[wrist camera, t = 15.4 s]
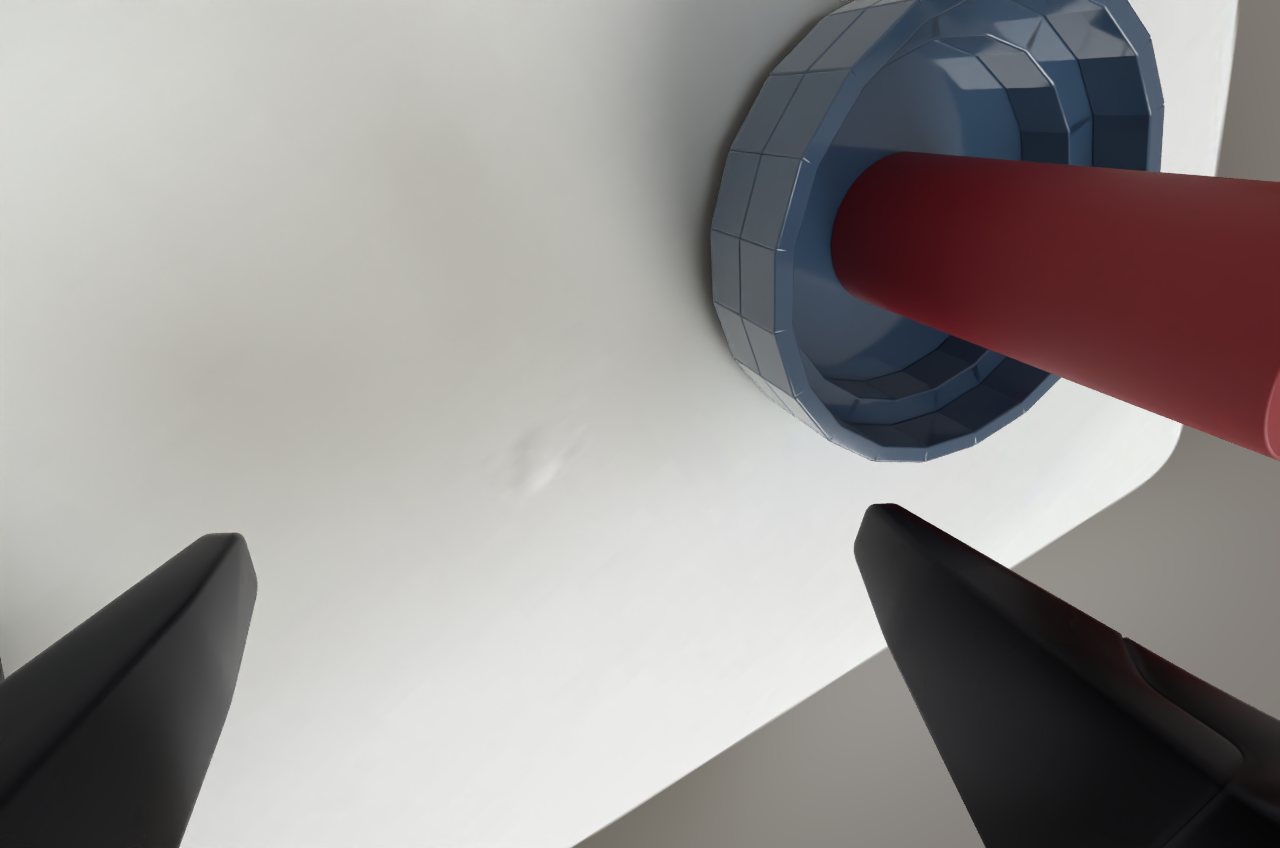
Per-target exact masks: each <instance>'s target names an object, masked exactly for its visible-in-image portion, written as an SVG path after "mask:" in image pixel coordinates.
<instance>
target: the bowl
mask: <svg viewBox="0 0 1280 848" xmlns="http://www.w3.org/2000/svg"><path fill="white" fill-rule="evenodd" d="M769 75H770V76H769V77H768V78H767V79H766V81H765V83H764V85H763V87H762V89H761V91H760V92H759V94H758V96H757V98H756V100H755V102H754V104H753V106H752V108H751V109H750V111H749V113H748V115H747V117H746V119H745V121H744V123H743V124H742V126H741V128H740V130H739V132H738V134H737V136H736V138H735V139H734V141H733V143H732V145H731V147H730V150H731V151H729V153H728V156H727V161H726V165H725V169H724V173H723V177H722V182H721V186H720V190H719V194H718V198H717V203H716V207H715V211H714V215H713V219H712V224H711V228H712V229H711V231H710V235H711V263H712V291H713V303H714V306H715V309H716V311H717V314H718V317H719V320H720V323H721V325H722V328H723V331H724V334H725V336H726V339H727V342H728V345H729V348H730V350H731V353H732V356H733V357H734V359H735V361H736V362H737V363H738V364H739V365H740V366H741V367H742V369H743V370H744V371H745V372H746V373H747V374H748V376H749V377H750V378H751V379H752V380H753V381H754V383H755V384H756V385H757V386H758V387H759V388H760V390H761V391H762V392H763V393H764V394H765V395H766V396H767V397H768V398H769V399H771V400H772V401H774V402H775V403H776V404H778V405H779V406H781V407H782V408H783V409H785V410H786V411H788V412H789V413H791V414H792V415H793V416H795V417H796V418H798V419H799V420H800V421H802V422H803V423H805V424H806V425H807V426H809V427H810V428H812V429H813V430H814V431H816V432H817V433H819V434H820V435H822V436H823V437H824V438H826V439H827V440H829V441H830V442H832V443H835V444H837V445H839V446H841V447H843V448H845V449H847V450H850V451H852V452H854V453H856V454H858V455H860V456H862V457H865V458H867V459H869V460H871V461H878V462H926V461H929V460H932V459H935V458H938V457H942V456H945V455H948V454H951V453H954V452H957V451H960V450H963V449H966V448H969V447H972V446H974V445H976V444H978V443H980V442H981V441H983V440H984V439H986V438H987V437H989V436H990V435H992V434H993V433H995V432H997V431H998V430H1000V429H1001V428H1003V427H1004V426H1006V425H1007V424H1009V423H1011V422H1012V421H1014V420H1015V419H1017V418H1018V417H1020V416H1021V415H1023V414H1024V413H1026V412H1027V411H1028V410H1029V409H1030V408H1031V407H1032V406H1033V405H1034V404H1035V403H1036V402H1037V401H1038V400H1039V399H1040V398H1041V397H1042V396H1043V395H1044V394H1045V393H1046V392H1047V391H1048V390H1049V389H1050V388H1051V387H1052V386H1053V385H1054V384H1055V383H1056V382H1057V381H1058V380H1059V379H1060V378H1061V377H1060V376H1057V375H1054V374H1052V373H1049V372H1047V371H1044V370H1041V369H1039V368H1036V367H1034V366H1031V365H1028V364H1026V363H1023V362H1021V361H1018V360H1015V359H1013V358H1010V357H1008V356H1005V355H1002V354H1000V353H997V352H995V351H992V350H989V349H987V348H984V347H982V346H979V345H976V344H974V343H971V342H969V341H966V340H963V339H961V338H958V337H955V336H953V335H950V334H948V333H945V332H942V331H940V330H937V329H935V328H932V327H929V326H927V325H924V324H922V323H919V322H916V321H914V320H911V319H909V318H906V317H903V316H901V315H898V314H896V313H893V312H890V311H888V310H885V309H883V308H880V307H877V306H875V305H872V304H870V303H867V302H864V301H862V300H859V299H857V298H855V297H854V296H852V295H851V294H850V293H849V292H847V291H846V289H845V288H844V287H843V286H842V284H841V283H840V281H839V279H838V278H837V275H836V273H835V270H834V266H833V262H832V254H831V240H832V231H833V226H834V222H835V219H836V216H837V212H838V210H839V208H840V205H841V203H842V201H843V199H844V197H845V195H846V193H847V192H848V190H849V189H850V187H851V186H852V184H853V183H854V182H855V181H856V180H857V178H858V177H859V176H860V175H861V174H862V173H863V172H864V171H865V170H866V169H867V168H869V167H870V166H871V165H872V164H874V163H875V162H877V161H879V160H880V159H882V158H884V157H886V156H889V155H891V154H894V153H899V152H921V153H933V154H945V155H957V156H969V157H981V158H993V159H1005V160H1017V161H1029V162H1041V163H1053V164H1066V165H1078V166H1090V167H1102V168H1114V169H1126V170H1138V171H1150V172H1160V168H1161V152H1162V136H1163V121H1164V105H1163V104H1164V99H1163V94H1162V89H1161V84H1160V79H1159V74H1158V70H1157V65H1156V60H1155V55H1154V50H1153V45H1152V40H1151V39H1150V35H1149V33H1148V31H1147V30H1146V28H1145V27H1144V25H1143V24H1142V22H1141V21H1140V19H1139V17H1138V16H1137V14H1136V13H1135V11H1134V10H1133V8H1132V7H1131V5H1130V3H1129V2H1128V0H855V1H853V2H851V3H849V4H847V5H845V6H843V7H841V8H839V9H837V10H835V11H833V12H832V13H830V14H828V15H827V16H826V17H823V18H822V20H821V21H820V22H819V23H818V24H817V25H816V26H815V27H814V28H813V29H812V30H811V31H810V32H809V33H808V34H807V35H806V36H805V37H804V38H803V39H802V40H801V41H800V43H799V44H798V45H797V46H796V47H795V48H794V49H793V50H792V51H791V52H790V53H789V54H788V55H787V56H786V57H785V58H784V59H783V60H782V61H781V62H780V63H779V64H778V66H777V67H776V68H775V69H774V70H773V71H772V72H771V73H770V74H769Z"/></svg>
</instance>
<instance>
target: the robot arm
mask: <svg viewBox="0 0 1280 848" xmlns="http://www.w3.org/2000/svg"><path fill="white" fill-rule="evenodd" d="M854 554H855V559H856V562H857V564H858V567H859V570H860V573H861V575H862V578H863V581H864V584H865V586H866V589H867V592H868V595H869V597H870V600H871V603H872V606H873V608H874V611H875V614H876V617H877V619H878V622H879V625H880V628H881V630H882V633H883V635H884V638H885V640H886V643H887V645H888V647H889V649H890V651H891V653H892V656H893V658H894V660H895V662H896V664H897V666H898V668H899V670H900V672H901V674H902V677H903V679H904V680H905V683H906V685H907V687H908V689H909V691H910V693H911V695H912V697H913V699H914V701H915V703H916V705H917V707H918V709H919V712H920V714H921V716H922V718H923V720H924V722H925V723H926V726H927V728H928V730H929V732H930V734H931V736H932V738H933V740H934V742H935V744H936V746H937V749H938V751H939V753H940V755H941V757H942V759H943V761H944V763H945V765H946V767H947V769H948V771H949V773H950V775H951V777H952V779H953V781H954V783H955V785H956V788H957V789H958V792H959V794H960V796H961V798H962V800H963V802H964V804H965V806H966V808H967V810H968V812H969V814H970V816H971V818H972V820H973V822H974V825H975V827H976V828H977V831H978V833H979V835H980V837H981V839H982V841H983V843H984V845H985V847H986V848H1280V720H1278V719H1276V718H1274V717H1272V716H1270V715H1268V714H1266V713H1264V712H1262V711H1260V710H1258V709H1256V708H1254V707H1253V706H1250V705H1249V704H1247V703H1245V702H1243V701H1241V700H1239V699H1237V698H1235V697H1233V696H1231V695H1230V694H1228V693H1226V692H1224V691H1222V690H1220V689H1218V688H1216V687H1215V686H1213V685H1211V684H1209V683H1207V682H1205V681H1203V680H1201V679H1199V678H1197V677H1196V676H1194V675H1192V674H1190V673H1188V672H1187V671H1185V670H1183V669H1182V668H1180V667H1178V666H1176V665H1174V664H1173V663H1171V662H1169V661H1167V660H1165V659H1164V658H1162V657H1160V656H1158V655H1157V654H1155V653H1153V652H1151V651H1150V650H1148V649H1146V648H1144V647H1143V646H1141V645H1139V644H1138V643H1136V642H1134V641H1133V640H1131V639H1129V638H1127V637H1124V638H1123V637H1122V635H1121V634H1120V633H1119V632H1117V631H1115V630H1113V629H1112V628H1110V627H1108V626H1106V625H1105V624H1103V623H1101V622H1099V621H1098V620H1096V619H1094V618H1093V617H1091V616H1089V615H1087V614H1086V613H1084V612H1082V611H1081V610H1079V609H1077V608H1075V607H1074V606H1072V605H1070V604H1068V603H1067V602H1065V601H1063V600H1061V599H1060V598H1058V597H1056V596H1055V595H1053V594H1051V593H1049V592H1048V591H1046V590H1044V589H1043V588H1041V587H1039V586H1037V585H1036V584H1034V583H1032V582H1030V581H1029V580H1027V579H1025V578H1024V577H1022V576H1020V575H1018V574H1017V573H1015V572H1013V571H1011V570H1010V569H1008V568H1006V567H1005V566H1003V565H1001V564H999V563H998V562H996V561H994V560H992V559H991V558H989V557H987V556H986V555H984V554H982V553H980V552H979V551H977V550H975V549H973V548H972V547H970V546H968V545H967V544H965V543H963V542H961V541H960V540H958V539H956V538H955V537H953V536H951V535H949V534H948V533H946V532H944V531H942V530H941V529H939V528H937V527H936V526H934V525H932V524H930V523H929V522H927V521H925V520H923V519H922V518H920V517H918V516H917V515H915V514H913V513H911V512H910V511H908V510H906V509H904V508H903V507H901V506H899V505H897V504H893V503H887V504H873V505H870V506H869V507H868V508H867V510H866V512H865V514H864V517H863V520H862V523H861V526H860V529H859V531H858V534H857V537H856V540H855V543H854ZM256 595H257V577H256V573H255V570H254V567H253V563H252V560H251V557H250V553H249V550H248V547H247V543H246V541H245V539H244V537H243V536H242V535H241V534H239V533H212V534H206V535H204V536H202V537H200V538H199V539H197V540H196V541H195V542H193V543H192V544H191V545H189V546H188V547H186V548H185V549H184V550H182V551H181V552H180V553H178V554H177V555H175V556H174V557H173V558H171V559H170V560H168V561H167V562H166V563H164V564H163V565H162V566H160V567H159V568H157V569H156V570H155V571H153V572H152V573H151V574H149V575H148V576H146V577H145V578H144V579H142V580H141V581H140V582H138V583H137V584H135V585H134V586H133V587H131V588H130V589H129V590H127V591H126V592H124V593H123V594H122V595H120V596H119V597H117V598H116V599H115V600H113V601H112V602H111V603H109V604H108V605H106V606H105V607H104V608H102V609H101V610H100V611H98V612H97V613H95V614H94V615H93V616H91V617H90V618H89V619H87V620H86V621H84V622H83V623H82V624H80V625H79V626H78V627H76V628H75V629H73V630H72V631H71V632H69V633H68V634H66V635H65V636H64V637H62V638H61V639H60V640H58V641H57V642H55V643H54V644H53V645H51V646H50V647H49V648H47V649H46V650H44V651H43V652H42V653H40V654H39V655H38V656H36V657H35V658H33V659H32V660H31V661H29V662H28V663H27V664H25V665H24V666H22V667H21V668H20V669H18V670H17V671H15V672H14V673H13V674H11V675H10V676H9V677H7V678H6V679H4V674H3V669H2V664H1V659H0V848H179V847H180V844H181V841H182V838H183V836H184V833H185V830H186V827H187V825H188V822H189V819H190V816H191V814H192V811H193V808H194V805H195V802H196V800H197V797H198V794H199V791H200V789H201V786H202V783H203V780H204V778H205V775H206V772H207V769H208V767H209V764H210V761H211V758H212V756H213V753H214V750H215V747H216V745H217V742H218V739H219V736H220V734H221V731H222V728H223V725H224V723H225V720H226V717H227V714H228V711H229V708H230V705H231V701H232V697H233V693H234V690H235V686H236V682H237V677H238V673H239V669H240V664H241V660H242V656H243V651H244V647H245V643H246V639H247V634H248V630H249V626H250V621H251V617H252V613H253V608H254V604H255V600H256Z"/></svg>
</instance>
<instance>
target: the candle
mask: <svg viewBox="0 0 1280 848" xmlns="http://www.w3.org/2000/svg"><path fill="white" fill-rule="evenodd" d="M831 254H832V262H833V266H834V270H835V273H836V275H837V278H838V279H839V281H840V283H841V284H842V286H843V287H844V288H845V289H846V291H847V292H849V293H850V294H851V295H852V296H854V297H855V298H857V299H859V300H862V301H864V302H867V303H870V304H872V305H875V306H877V307H880V308H883V309H885V310H888V311H890V312H893V313H896V314H898V315H901V316H903V317H906V318H909V319H911V320H914V321H916V322H919V323H922V324H924V325H927V326H929V327H932V328H935V329H937V330H940V331H942V332H945V333H948V334H950V335H953V336H955V337H958V338H961V339H963V340H966V341H969V342H971V343H974V344H976V345H979V346H982V347H984V348H987V349H989V350H992V351H995V352H997V353H1000V354H1002V355H1005V356H1008V357H1010V358H1013V359H1015V360H1018V361H1021V362H1023V363H1026V364H1028V365H1031V366H1034V367H1036V368H1039V369H1041V370H1044V371H1047V372H1049V373H1052V374H1054V375H1057V376H1060V377H1062V378H1065V379H1067V380H1070V381H1073V382H1075V383H1078V384H1080V385H1083V386H1086V387H1088V388H1091V389H1093V390H1096V391H1099V392H1101V393H1104V394H1106V395H1109V396H1112V397H1114V398H1117V399H1119V400H1122V401H1125V402H1127V403H1130V404H1132V405H1135V406H1138V407H1140V408H1143V409H1145V410H1148V411H1151V412H1153V413H1156V414H1158V415H1161V416H1164V417H1166V418H1169V419H1171V420H1174V421H1177V422H1179V423H1182V424H1184V425H1187V426H1190V427H1192V428H1195V429H1198V430H1200V431H1203V432H1205V433H1208V434H1211V435H1213V436H1216V437H1219V438H1221V439H1224V440H1226V441H1229V442H1231V443H1234V444H1237V445H1239V446H1242V447H1244V448H1247V449H1250V450H1252V451H1255V452H1257V453H1260V454H1263V455H1265V456H1268V457H1270V458H1273V459H1276V460H1278V461H1280V182H1271V181H1258V180H1246V179H1234V178H1222V177H1210V176H1198V175H1186V174H1174V173H1162V172H1150V171H1138V170H1126V169H1114V168H1102V167H1090V166H1078V165H1066V164H1053V163H1041V162H1029V161H1017V160H1005V159H993V158H981V157H969V156H957V155H945V154H933V153H921V152H899V153H894V154H891V155H889V156H886V157H884V158H882V159H880V160H879V161H877V162H875V163H874V164H872V165H871V166H870V167H869V168H867V169H866V170H865V171H864V172H863V173H862V174H861V175H860V176H859V177H858V178H857V180H856V181H855V182H854V183H853V184H852V186H851V187H850V189H849V190H848V192H847V193H846V195H845V197H844V199H843V201H842V203H841V205H840V208H839V210H838V212H837V216H836V219H835V222H834V226H833V231H832V240H831Z"/></svg>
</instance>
